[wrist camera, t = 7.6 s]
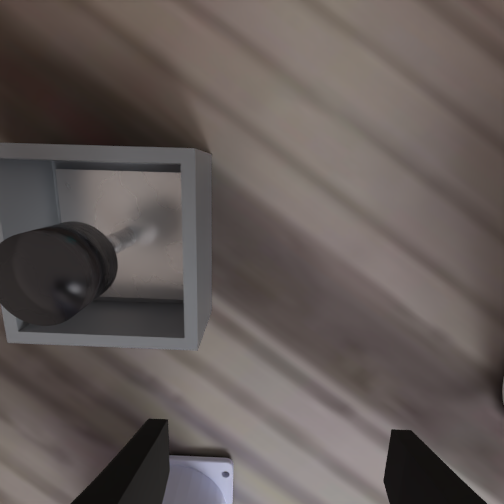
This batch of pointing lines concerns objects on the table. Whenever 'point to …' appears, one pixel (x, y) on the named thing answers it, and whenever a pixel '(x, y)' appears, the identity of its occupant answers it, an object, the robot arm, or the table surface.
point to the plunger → (97, 246)
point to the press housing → (114, 308)
